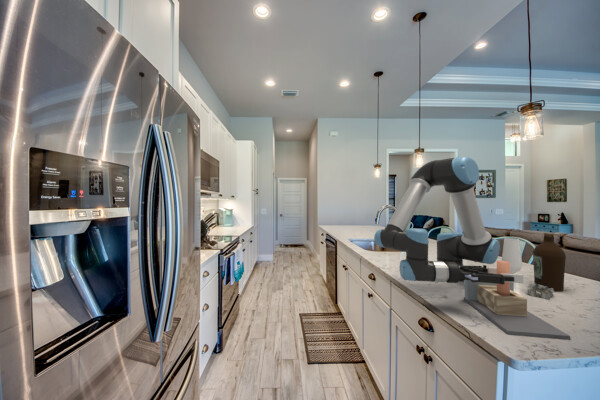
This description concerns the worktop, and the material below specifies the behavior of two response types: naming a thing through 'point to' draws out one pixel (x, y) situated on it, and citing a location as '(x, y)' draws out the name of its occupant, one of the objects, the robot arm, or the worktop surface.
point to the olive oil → (549, 264)
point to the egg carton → (539, 291)
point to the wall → (471, 288)
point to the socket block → (502, 301)
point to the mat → (520, 323)
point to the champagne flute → (512, 254)
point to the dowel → (504, 289)
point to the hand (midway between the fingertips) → (514, 275)
